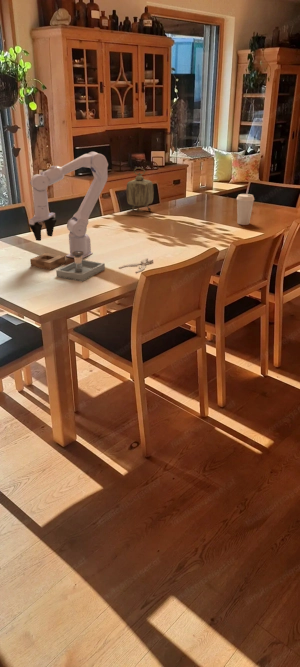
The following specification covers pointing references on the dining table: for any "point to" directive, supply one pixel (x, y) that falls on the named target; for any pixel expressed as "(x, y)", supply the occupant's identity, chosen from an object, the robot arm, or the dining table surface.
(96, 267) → the tray
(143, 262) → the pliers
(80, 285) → the dining table surface
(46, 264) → the brown square frame
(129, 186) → the tabletop clock
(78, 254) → the pin
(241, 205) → the coffee cup
